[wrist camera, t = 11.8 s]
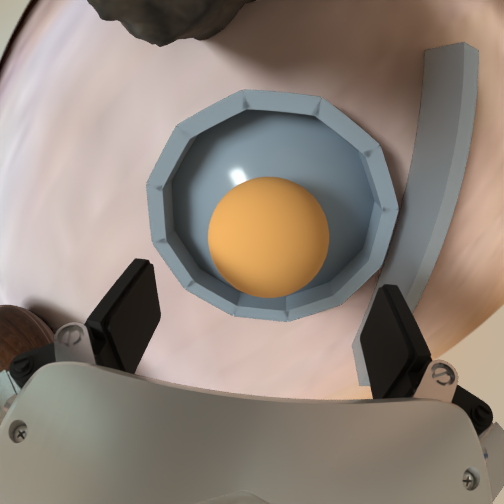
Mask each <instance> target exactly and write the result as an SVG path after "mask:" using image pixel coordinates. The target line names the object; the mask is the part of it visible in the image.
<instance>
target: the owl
mask: <svg viewBox="0 0 504 504" xmlns="http://www.w3.org/2000/svg"><path fill="white" fill-rule="evenodd" d="M87 1H88V2H89V4H91V5H92V6H93V7H94V9H95V10H96V11H97V13H98V14H99V17H100V18H101V19H102V20H106V21H115V20H118V21H120V22H121V23H122V25H123V26H124V27H125V28H126V29H127V30H128V32H129V33H130V34H132V35H133V36H134V37H136V38H139V39H142V40H145V41H147V42H149V43H151V44H156V45H158V46H159V47H161V46H165V45H168V44H170V43H172V42H174V41H176V40H177V39H187V38H194V39H197V40H204V39H208V38H210V37H212V36H214V35H215V34H217V33H218V32H220V31H221V30H223V29H224V28H225V27H226V26H227V25H228V24H229V22H230V21H231V20H232V19H233V18H234V17H235V15H236V14H237V12H238V11H239V9H240V8H241V7H242V6H243V5H244V4H245V3H249V2H253V1H256V0H87Z"/></svg>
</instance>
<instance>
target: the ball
mask: <svg viewBox="0 0 504 504" xmlns="http://www.w3.org/2000/svg"><path fill="white" fill-rule="evenodd" d="M208 245H209V250H210V255H211V258H212V260H213V263H214V264H215V266H216V268H217V270H218V271H219V273H220V274H221V276H222V277H223V278H224V279H225V280H226V281H227V282H228V283H230V284H231V285H232V286H233V287H235V288H236V289H238V290H240V291H241V292H243V293H246V294H248V295H252V296H255V297H261V298H276V297H282V296H286V295H289V294H291V293H294V292H296V291H298V290H299V289H301V288H303V287H304V286H306V285H307V284H308V283H309V282H310V281H311V280H312V279H313V278H314V277H315V276H316V275H317V273H318V272H319V270H320V269H321V267H322V265H323V263H324V261H325V258H326V255H327V252H328V246H329V229H328V223H327V219H326V216H325V214H324V212H323V210H322V208H321V206H320V204H319V203H318V201H317V200H316V199H315V198H314V197H313V196H312V194H311V193H309V192H308V191H307V190H306V189H305V188H303V187H302V186H300V185H298V184H297V183H294V182H292V181H290V180H287V179H284V178H279V177H258V178H254V179H250V180H247V181H245V182H243V183H241V184H239V185H237V186H235V187H234V188H233V189H231V190H230V191H229V192H228V193H227V194H226V195H225V196H224V197H223V198H222V199H221V200H220V202H219V203H218V204H217V206H216V208H215V210H214V212H213V214H212V217H211V220H210V224H209V229H208Z"/></svg>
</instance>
